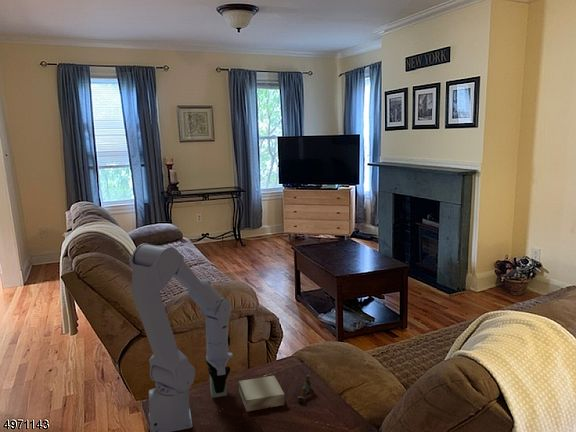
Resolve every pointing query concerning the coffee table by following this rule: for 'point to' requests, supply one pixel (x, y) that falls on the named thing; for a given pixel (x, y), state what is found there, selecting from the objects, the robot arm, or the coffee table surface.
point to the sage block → (214, 389)
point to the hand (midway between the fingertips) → (218, 387)
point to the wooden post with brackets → (305, 389)
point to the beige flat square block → (261, 393)
